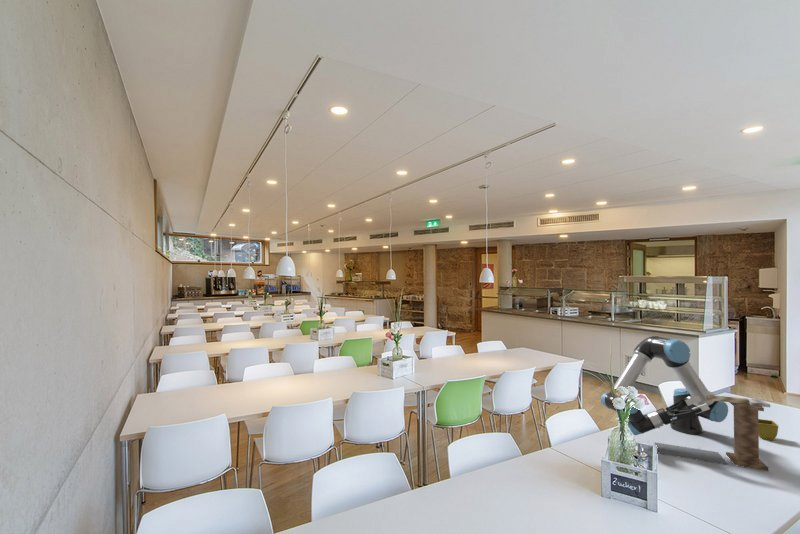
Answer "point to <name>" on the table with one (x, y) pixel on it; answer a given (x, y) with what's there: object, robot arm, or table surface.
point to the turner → (738, 400)
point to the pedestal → (746, 437)
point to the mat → (690, 453)
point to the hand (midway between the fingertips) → (703, 402)
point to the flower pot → (767, 429)
